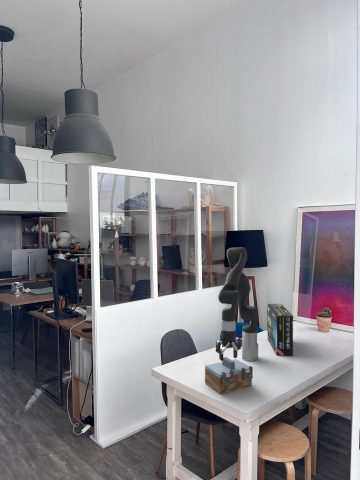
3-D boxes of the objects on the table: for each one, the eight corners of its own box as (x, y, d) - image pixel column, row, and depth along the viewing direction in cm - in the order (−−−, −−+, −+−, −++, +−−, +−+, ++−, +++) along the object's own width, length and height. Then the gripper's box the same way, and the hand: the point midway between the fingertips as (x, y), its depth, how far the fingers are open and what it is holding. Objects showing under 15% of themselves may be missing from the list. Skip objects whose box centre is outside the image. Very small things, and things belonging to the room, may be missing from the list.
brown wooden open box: (235, 376, 201) (235, 356, 200) (254, 387, 186) (254, 366, 186) (205, 383, 191) (205, 362, 191) (222, 395, 177) (222, 373, 177)
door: (236, 362, 200) (236, 352, 200) (254, 372, 186) (254, 362, 186) (205, 368, 191) (205, 358, 191) (221, 379, 177) (222, 369, 177)
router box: (266, 339, 268) (266, 303, 267) (281, 339, 267) (281, 303, 266) (276, 356, 232) (276, 315, 231) (293, 356, 232) (294, 315, 231)
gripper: (235, 325, 195) (235, 354, 196) (213, 328, 189) (213, 359, 189) (243, 328, 189) (243, 359, 189) (221, 332, 182) (221, 363, 183)
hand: (228, 359), depth 189 cm, fingers open, 8 cm apart
